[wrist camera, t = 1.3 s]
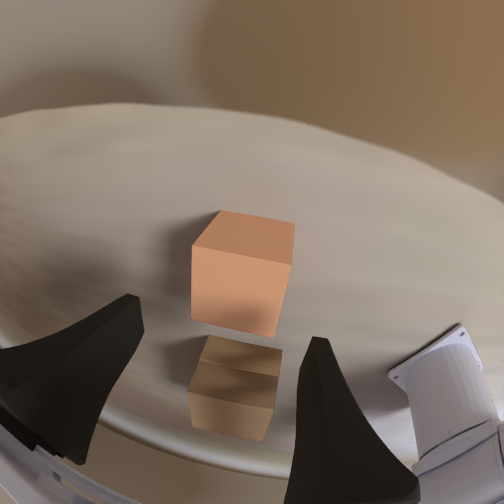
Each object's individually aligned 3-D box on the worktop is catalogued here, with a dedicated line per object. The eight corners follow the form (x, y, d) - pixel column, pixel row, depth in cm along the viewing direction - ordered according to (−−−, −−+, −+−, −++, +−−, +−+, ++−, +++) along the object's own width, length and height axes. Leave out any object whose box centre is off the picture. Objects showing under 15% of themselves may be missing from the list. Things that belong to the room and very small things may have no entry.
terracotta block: (295, 223, 16) (291, 264, 12) (281, 285, 19) (273, 337, 14) (221, 209, 17) (191, 245, 12) (216, 272, 19) (191, 319, 15)
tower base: (282, 346, 22) (279, 375, 19) (270, 387, 24) (266, 412, 22) (210, 331, 22) (199, 358, 19) (209, 374, 25) (200, 398, 22)
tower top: (278, 376, 19) (274, 409, 16) (267, 413, 22) (262, 441, 19) (199, 360, 20) (186, 391, 17) (201, 400, 22) (192, 426, 20)
